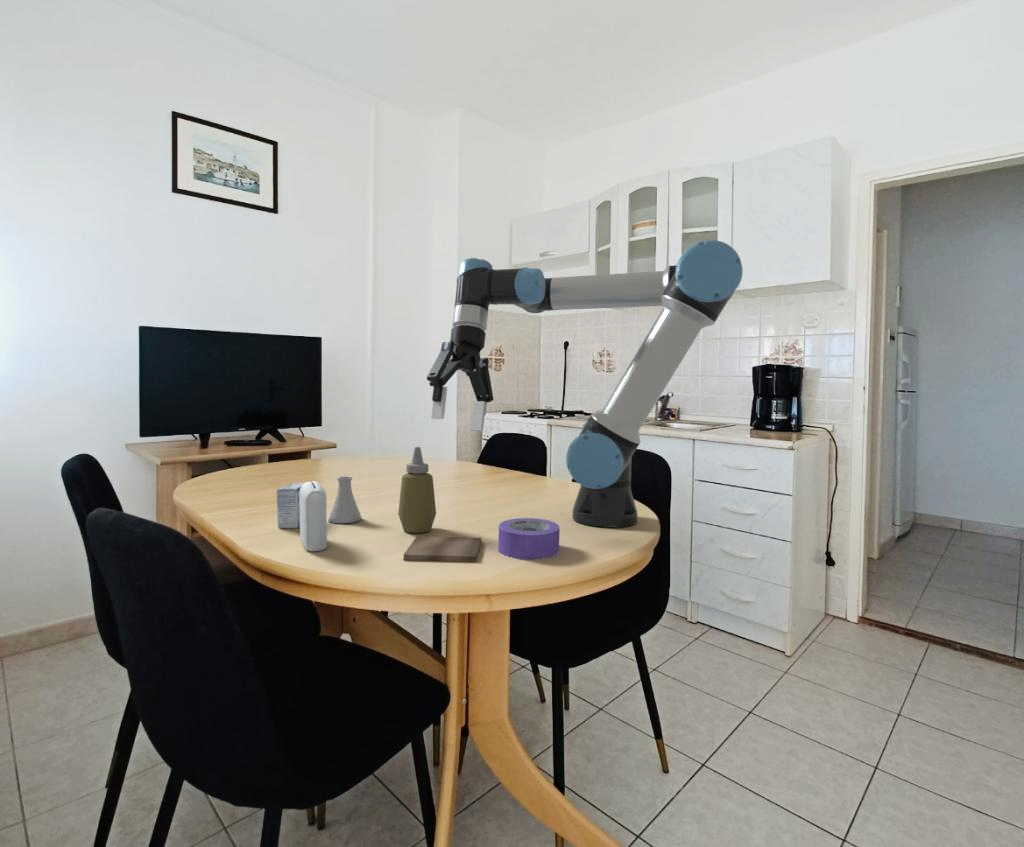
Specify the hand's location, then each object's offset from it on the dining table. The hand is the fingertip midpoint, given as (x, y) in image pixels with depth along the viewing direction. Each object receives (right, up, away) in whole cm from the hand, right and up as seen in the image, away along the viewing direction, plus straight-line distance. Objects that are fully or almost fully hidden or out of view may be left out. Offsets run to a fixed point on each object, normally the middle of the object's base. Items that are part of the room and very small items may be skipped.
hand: (458, 424), depth 119 cm
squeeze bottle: (-9, -23, +1) cm, 25 cm away
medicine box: (-37, -22, +5) cm, 43 cm away
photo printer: (-27, -24, -10) cm, 38 cm away
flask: (-27, -22, +9) cm, 36 cm away
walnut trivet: (-1, -24, -13) cm, 27 cm away
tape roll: (+15, -24, -11) cm, 31 cm away
